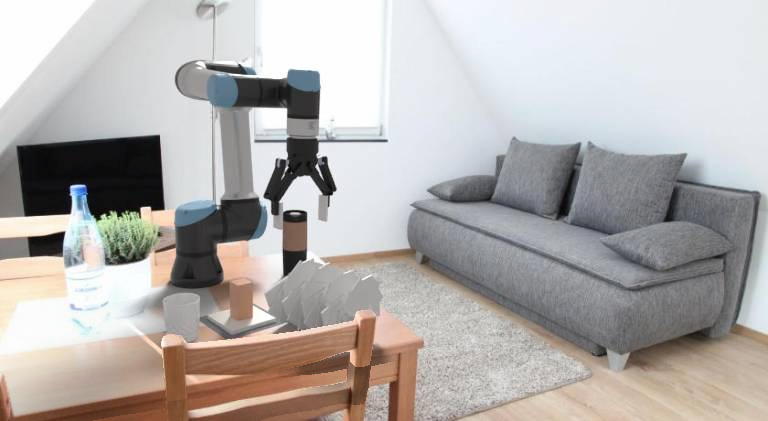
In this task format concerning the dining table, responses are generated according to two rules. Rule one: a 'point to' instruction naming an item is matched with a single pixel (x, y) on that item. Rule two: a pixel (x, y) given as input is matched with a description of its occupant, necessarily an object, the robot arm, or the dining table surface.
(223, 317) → the lid
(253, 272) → the dining table surface
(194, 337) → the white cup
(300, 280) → the spiral staircase
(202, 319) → the mat
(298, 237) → the travel mug
